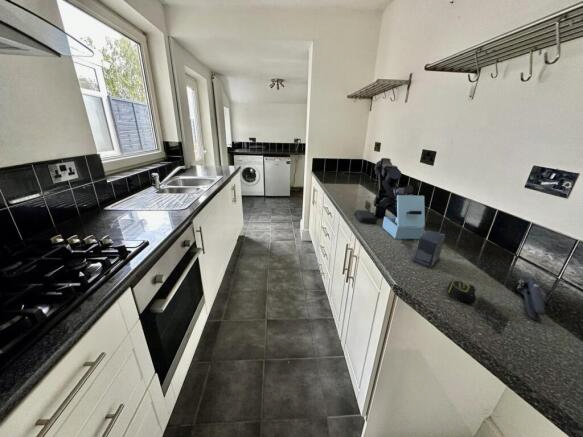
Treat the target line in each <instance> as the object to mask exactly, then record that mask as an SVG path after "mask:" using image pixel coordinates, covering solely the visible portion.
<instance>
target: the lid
mask: <svg viewBox="0 0 583 437" xmlns="http://www.w3.org/2000/svg"><path fill="white" fill-rule="evenodd" d="M409 195H410V194H405V195H397V202H396V204H397V205H396V209H397V226H407V227H424V228H425V227H426V220H425V219H426V217H425V216H426V215H425V212H426V211H425V195H415V196H409Z"/></svg>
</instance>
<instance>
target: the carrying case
mask: <svg viewBox="0 0 583 437" xmlns="http://www.w3.org/2000/svg"><path fill="white" fill-rule="evenodd" d="M353 213H354V215H355V217H356V218H357V219H358V221H359V222H360V223H363V224H376V223H377V222H378V218H376V217H375V216H374V214H373V212H372V211H370V210H364V209H362V210H361V209H356V210H355V211H354V212H353Z"/></svg>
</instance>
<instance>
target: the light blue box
mask: <svg viewBox="0 0 583 437" xmlns="http://www.w3.org/2000/svg"><path fill="white" fill-rule="evenodd" d="M395 221H396V216H386V217H384V218H383V222H382V228H383V229H384V230H385V231H386V232H387V233H388V234H389V235H390V236H392V237H393V239H395V240H419V238H420V237H421V236H422V235H423V234H424V228H425V227H407V226H406V227H398V226H397V225H396V224H395Z"/></svg>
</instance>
